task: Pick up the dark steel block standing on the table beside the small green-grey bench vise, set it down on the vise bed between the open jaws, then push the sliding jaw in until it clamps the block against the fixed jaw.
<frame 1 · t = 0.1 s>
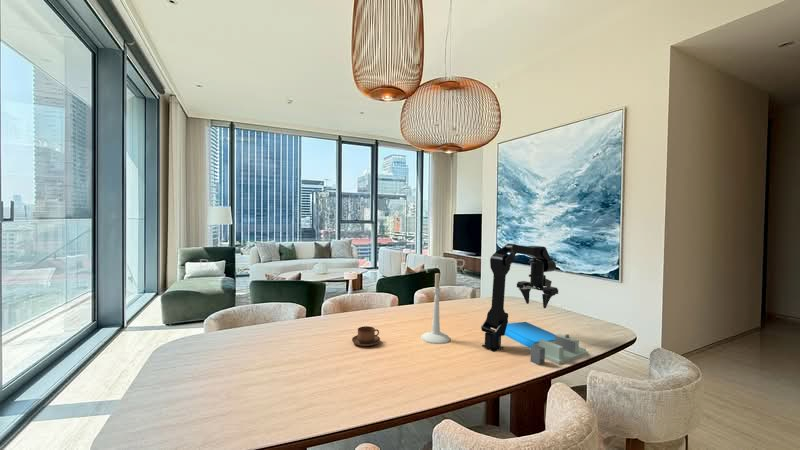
hand: (536, 305, 158), 15 cm above the table, tool pointing down, fingers open, 9 cm apart
candlestick: (435, 339, 153), on the table
vise: (556, 355, 137), on the table
book: (528, 339, 156), on the table
block: (537, 362, 130), on the table
jaw: (566, 342, 140), point 4 cm above the table, slide at 0.0 cm
cup and saucer: (365, 343, 145), on the table
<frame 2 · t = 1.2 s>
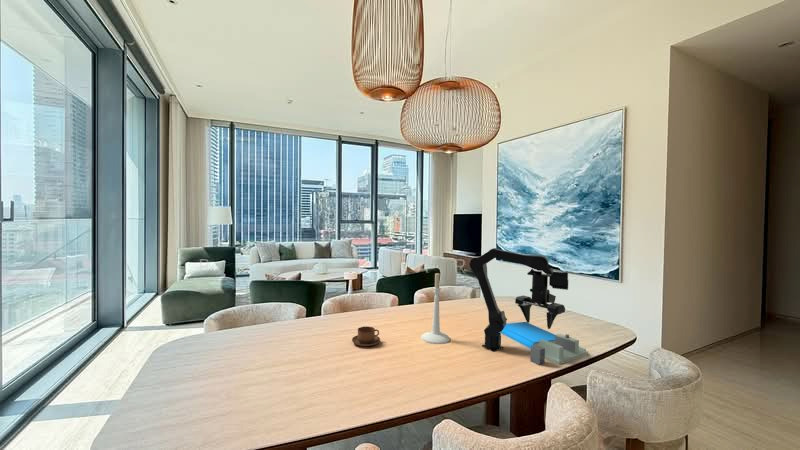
hand: (538, 325, 135), 12 cm above the table, tool pointing down, fingers open, 9 cm apart
nothing on the table moved.
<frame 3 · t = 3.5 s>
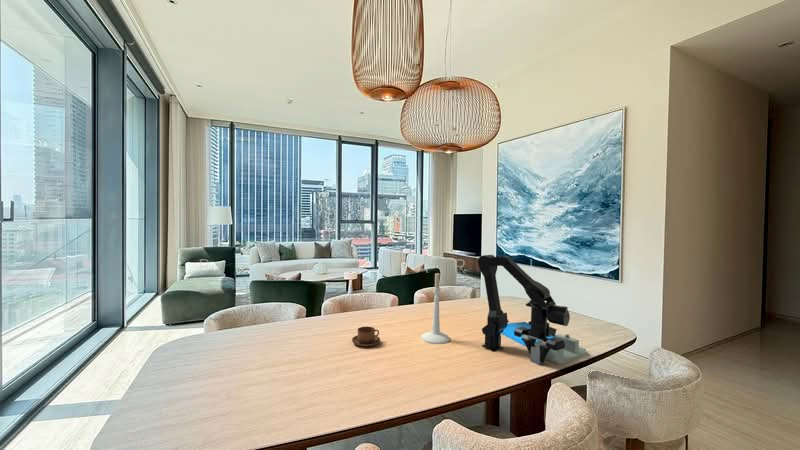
hand: (537, 359, 130), 1 cm above the table, tool pointing down, fingers closed on block, 4 cm apart
block: (537, 362, 130), on the table, touching gripper
when the fingers open (3 cm above the table, at t = 7.5 s): block stays where it is, resting on vise.
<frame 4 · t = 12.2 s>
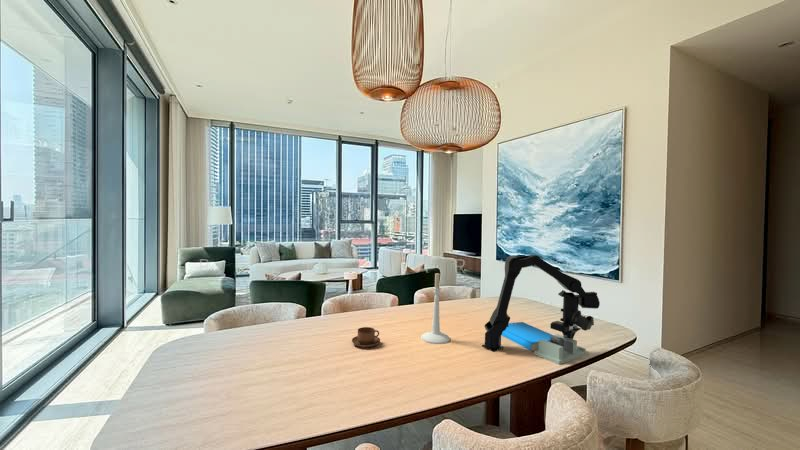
hand: (569, 344, 141), 3 cm above the table, tool pointing down, fingers closed
book: (525, 340, 156), on the table
block: (556, 352, 137), point 1 cm above the table, touching vise
jaw: (564, 342, 140), point 4 cm above the table, slide at 1.4 cm, touching gripper
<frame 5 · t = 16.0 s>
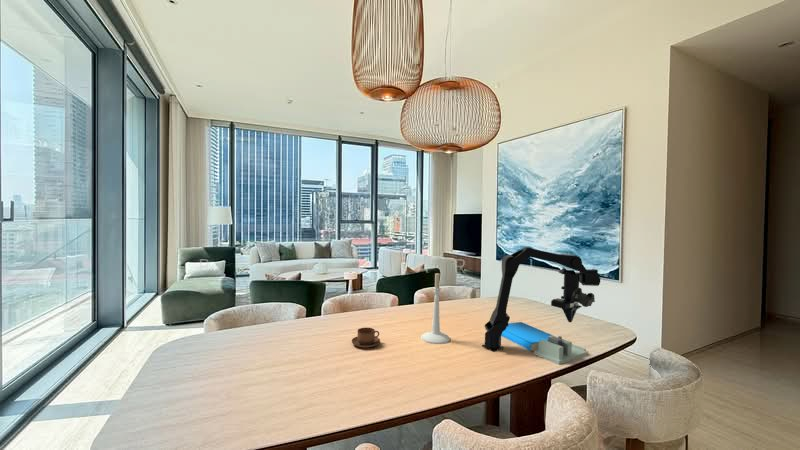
hand: (570, 322, 141), 12 cm above the table, tool pointing down, fingers closed
block: (554, 353, 136), point 1 cm above the table, touching vise
jaw: (559, 344, 138), point 4 cm above the table, slide at 5.0 cm
at the end: jaw slide at 5.0 cm; block 0.2 cm from the target spot on the vise, point 1.2 cm above the vise's base; block tilted 0° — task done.
